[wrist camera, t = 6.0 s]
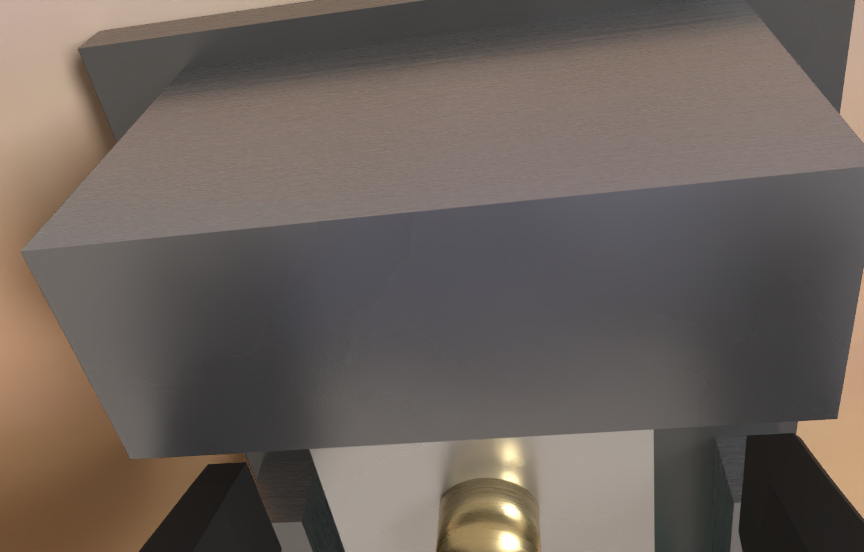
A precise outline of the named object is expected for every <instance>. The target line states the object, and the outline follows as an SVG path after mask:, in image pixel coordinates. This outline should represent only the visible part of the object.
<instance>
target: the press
mask: <svg viewBox="0 0 864 552" xmlns="http://www.w3.org/2000/svg"><path fill="white" fill-rule="evenodd" d="M854 4H855V0H314V1H307V2H300V3H293V4H286V5H279V6H272V7H265V8H258V9H251V10H244V11H237V12H230V13H223V14H216V15H209V16H202V17H195V18H188V19H181V20H174V21H167V22H160V23H153V24H146V25H139V26H132V27H125V28H118V29H111V30H104V31H99V32H98V33H97V34H96V35H94V36H93V37H92V38H91V39H89V40H88V41H87V42H86V43H84V44H83V45H82V46H81V47H79V48H78V50H79V53H80V55H81V57H82V60H83V62H84V65H85V67H86V70H87V72H88V74H89V77H90V79H91V82H92V84H93V87H94V89H95V91H96V94H97V96H98V99H99V101H100V103H101V106H102V108H103V111H104V113H105V116H106V118H107V120H108V123H109V125H110V128H111V130H112V133H113V135H114V137H115V140H116V142H117V144H116V145H115V146H114V147H113V148H112V149H111V150H110V151H109V153H108V154H107V155H106V156H105V157H104V158H103V159H102V160H101V162H100V163H99V164H98V165H97V166H96V167H95V168H94V169H93V171H92V172H91V173H90V174H89V175H88V176H87V177H86V178H85V180H84V181H83V182H82V183H81V184H80V185H79V186H78V187H77V189H76V190H75V191H74V192H73V193H72V194H71V195H70V196H69V198H68V199H67V200H66V201H65V202H64V203H63V204H62V205H61V207H60V208H59V209H58V210H57V211H56V212H55V213H54V214H53V216H52V217H51V218H50V219H49V220H48V221H47V222H46V223H45V225H44V226H43V227H42V228H41V229H40V230H39V231H38V232H37V234H36V235H35V236H34V237H33V238H32V239H31V240H30V241H29V243H28V244H27V245H26V246H25V247H24V248H23V249H22V250H21V253H22V255H23V257H24V259H25V261H26V263H27V265H28V266H29V268H30V270H31V272H32V274H33V276H34V278H35V280H36V282H37V283H38V285H39V287H40V289H41V291H42V293H43V295H44V297H45V298H46V300H47V302H48V304H49V306H50V308H51V310H52V312H53V314H54V315H55V317H56V319H57V321H58V323H59V325H60V327H61V329H62V331H63V332H64V334H65V336H66V338H67V340H68V342H69V344H70V346H71V348H72V349H73V351H74V353H75V355H76V357H77V359H78V361H79V363H80V365H81V366H82V368H83V370H84V372H85V374H86V376H87V378H88V380H89V382H90V383H91V385H92V387H93V389H94V391H95V393H96V395H97V397H98V399H99V400H100V402H101V404H102V406H103V408H104V410H105V412H106V414H107V415H108V417H109V419H110V421H111V423H112V425H113V427H114V429H115V431H116V432H117V434H118V436H119V438H120V440H121V442H122V444H123V446H124V448H125V449H126V451H127V453H128V455H129V457H130V459H146V458H163V457H181V456H198V455H216V454H233V453H245V455H246V457H247V460H248V462H249V465H250V467H251V469H252V472H253V474H254V477H255V479H256V483H255V485H256V487H257V490H258V492H259V494H260V497H261V499H262V502H263V504H264V506H265V509H266V511H267V514H268V516H269V519H270V521H271V523H272V526H273V528H274V531H275V533H276V536H277V538H278V540H279V543H280V545H281V548H282V551H281V552H345V550H344V547H343V544H342V541H341V538H340V535H339V532H338V530H337V527H336V524H335V521H334V518H333V515H332V513H331V510H330V507H329V504H328V501H327V498H326V495H325V493H324V490H323V487H322V484H321V481H320V478H319V476H318V473H317V470H316V467H315V464H314V461H313V458H312V456H311V453H310V450H309V449H320V448H338V447H355V446H373V445H390V444H407V443H425V442H442V441H460V440H477V439H495V438H512V437H529V436H547V435H564V434H582V433H599V432H617V431H634V430H651V429H654V542H655V552H743V551H742V546H741V542H740V537H739V532H738V530H739V519H740V507H741V496H742V484H743V473H744V461H745V450H746V438H747V435H764V434H783V433H795V434H796V431H797V423H798V421H808V420H826V419H837V417H838V411H839V406H840V400H841V394H842V388H843V383H844V377H845V371H846V365H847V360H848V354H849V348H850V342H851V337H852V331H853V325H854V319H855V314H856V308H857V302H858V296H859V291H860V285H861V279H862V273H863V268H864V143H863V142H862V141H861V140H860V138H859V137H858V136H857V135H856V134H855V132H854V131H853V130H852V129H851V128H850V126H849V125H848V124H847V123H846V122H845V120H844V119H843V118H842V117H841V116H840V107H841V100H842V93H843V85H844V78H845V71H846V63H847V56H848V49H849V41H850V34H851V26H852V19H853V12H854Z"/></svg>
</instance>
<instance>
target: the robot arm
mask: <svg viewBox="0 0 864 552" xmlns="http://www.w3.org/2000/svg"><path fill="white" fill-rule="evenodd" d="M738 532H739V537H740V542H741V546H742V551H743V552H864V519H863V517H862V516H861V515H860V514H859V513H858V511H857V510H856V509H855V508H854V506H853V505H852V504H851V503H850V502H849V500H848V499H847V498H846V497H845V495H844V494H843V493H842V492H841V490H840V489H839V488H838V487H837V485H836V484H835V483H834V482H833V480H832V479H831V478H830V476H829V475H828V474H827V473H826V471H825V470H824V469H823V467H822V466H821V465H820V463H819V462H818V461H817V459H816V458H815V457H814V455H813V454H812V453H811V451H810V450H809V449H808V447H807V446H806V445H805V443H804V442H803V440H802V439H801V438H800V437H798V436H797V435H796V434H795V433H783V434H764V435H747V438H746V450H745V461H744V473H743V484H742V496H741V507H740V519H739V530H738ZM281 551H282V548H281V545H280V543H279V540H278V538H277V536H276V533H275V531H274V528H273V526H272V523H271V521H270V519H269V516H268V514H267V511H266V509H265V506H264V504H263V502H262V499H261V497H260V494H259V492H258V490H257V487H256V485H255V482H254V480H253V477H252V475H251V473H250V470H249V468H248V465H247V463H246V462H244V463H225V464H208V465H207V466H206V468H205V469H204V470H203V471H202V472H201V474H200V475H199V476H198V477H197V479H196V480H195V481H194V482H193V484H192V485H191V486H190V487H189V489H188V490H187V491H186V492H185V494H184V495H183V496H182V497H181V499H180V500H179V501H178V503H177V504H176V505H175V506H174V508H173V509H172V510H171V512H170V513H169V514H168V515H167V517H166V518H165V519H164V520H163V522H162V523H161V524H160V525H159V527H158V528H157V529H156V531H155V532H154V533H153V534H152V536H151V537H150V538H149V539H148V541H147V542H146V543H145V544H144V546H143V547H142V548H141V549H140V551H139V552H281Z"/></svg>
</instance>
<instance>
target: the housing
mask: <svg viewBox="0 0 864 552" xmlns="http://www.w3.org/2000/svg"><path fill="white" fill-rule="evenodd" d="M309 450H310V453H311V456H312V458H313V461H314V464H315V467H316V470H317V473H318V476H319V478H320V481H321V484H322V487H323V490H324V493H325V495H326V498H327V501H328V504H329V507H330V510H331V513H332V515H333V518H334V521H335V524H336V527H337V530H338V532H339V535H340V538H341V541H342V544H343V547H344V550H345V552H655V542H654V429H651V430H634V431H617V432H599V433H582V434H564V435H547V436H529V437H512V438H495V439H477V440H460V441H442V442H425V443H407V444H390V445H373V446H355V447H338V448H320V449H309Z"/></svg>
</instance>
